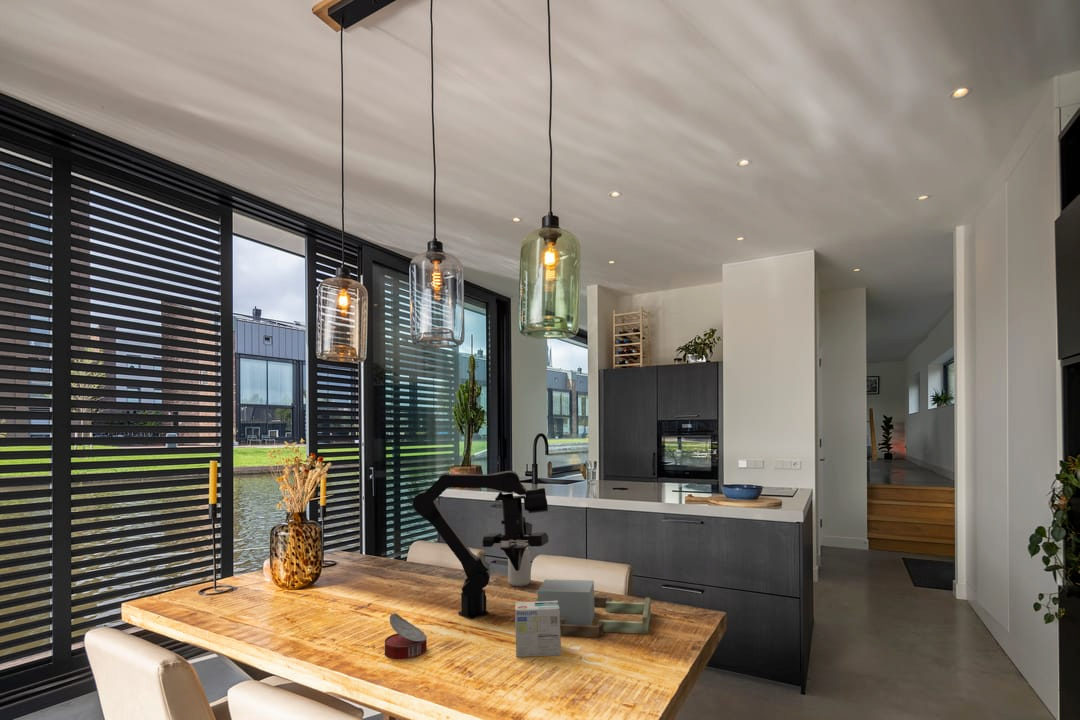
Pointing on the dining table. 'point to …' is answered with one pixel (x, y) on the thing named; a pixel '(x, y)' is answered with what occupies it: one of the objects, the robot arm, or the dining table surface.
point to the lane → (611, 624)
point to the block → (570, 599)
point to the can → (520, 571)
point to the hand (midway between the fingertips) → (517, 570)
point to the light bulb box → (537, 629)
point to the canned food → (404, 640)
